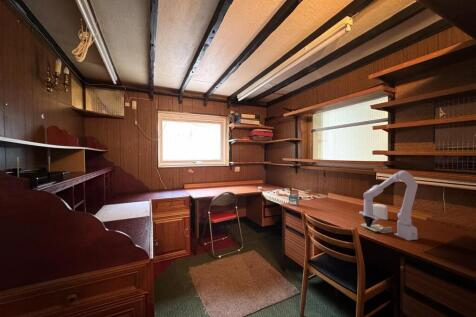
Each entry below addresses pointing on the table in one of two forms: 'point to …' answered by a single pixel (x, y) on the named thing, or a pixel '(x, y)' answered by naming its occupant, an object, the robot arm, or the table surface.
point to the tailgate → (372, 227)
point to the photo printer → (380, 211)
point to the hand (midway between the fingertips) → (368, 226)
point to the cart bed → (384, 229)
